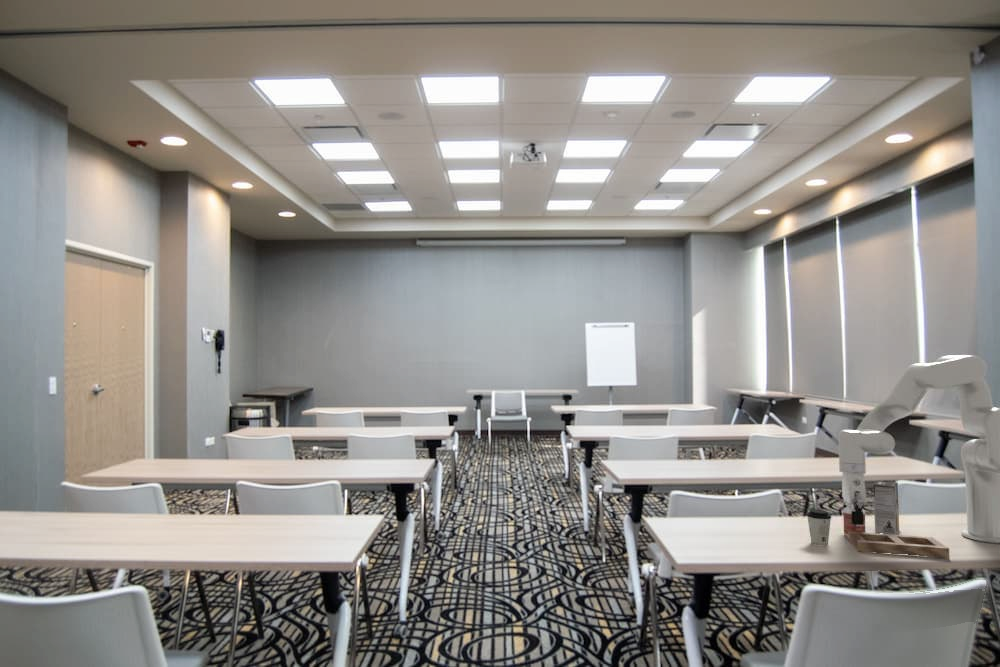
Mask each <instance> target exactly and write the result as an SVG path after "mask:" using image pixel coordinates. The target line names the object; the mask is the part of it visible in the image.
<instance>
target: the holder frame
mask: <svg viewBox="0 0 1000 667" xmlns="http://www.w3.org/2000/svg"><path fill="white" fill-rule="evenodd" d="M847 537H848V538H847V539H848V542H849V543H850V544H851V545H852V546H853V547H854V549H856V550H857V551H858V552H859V551H861V552H860V553H865V552H876V553H875V554H878V553H891V554H908V555H919V556H927V557H926V558H929V557H934V558H933V559H942V558H949V559H950V548H949V547H947V546H946V545H944V544H943V543H942V542H940V541H939V540H937V539H936V538H934V537H933V536H921V535H908V534H904V535H903V534H897V535H894V534H880V533H875V532H866V531H865V532H851V531H848V536H847ZM891 554H890V555H891Z"/></svg>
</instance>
